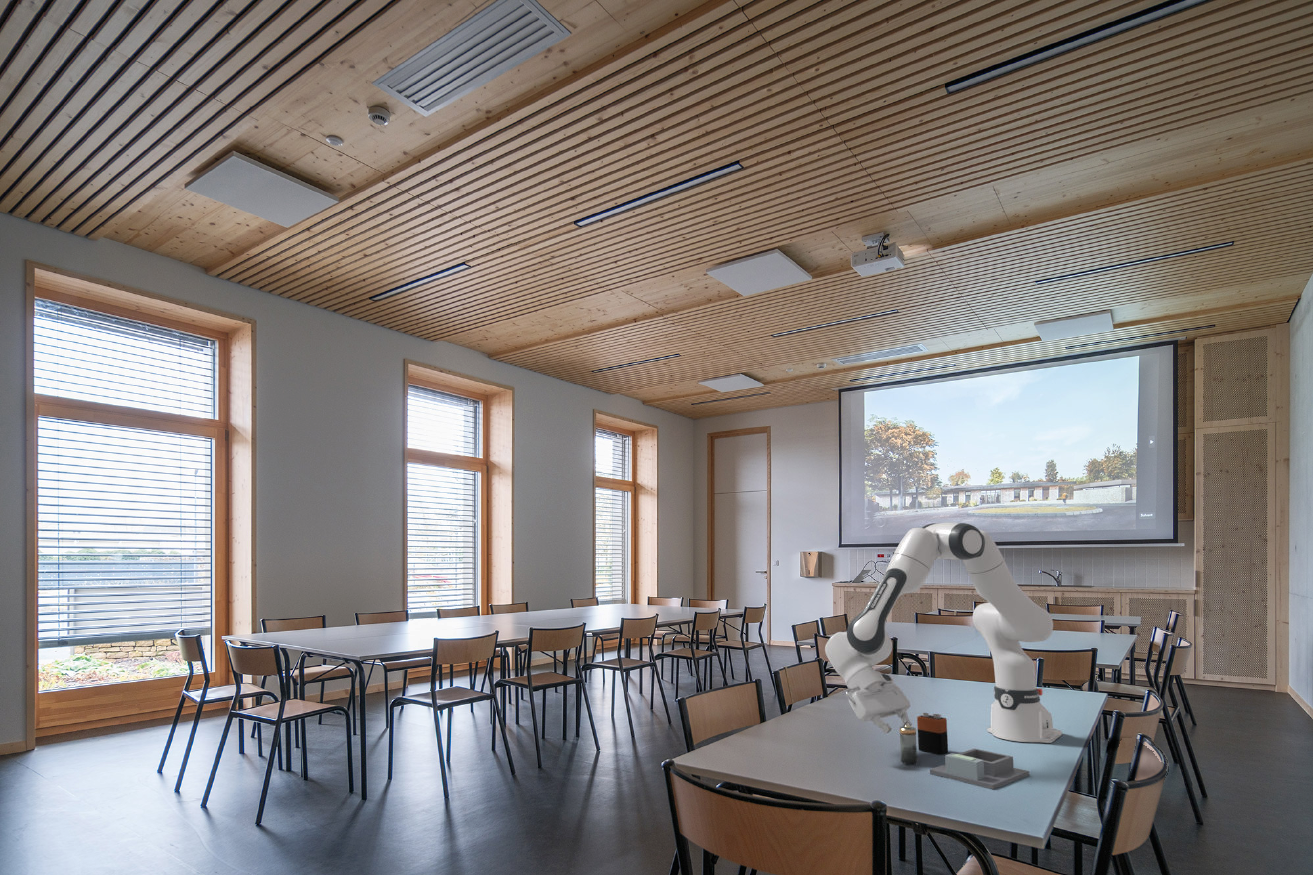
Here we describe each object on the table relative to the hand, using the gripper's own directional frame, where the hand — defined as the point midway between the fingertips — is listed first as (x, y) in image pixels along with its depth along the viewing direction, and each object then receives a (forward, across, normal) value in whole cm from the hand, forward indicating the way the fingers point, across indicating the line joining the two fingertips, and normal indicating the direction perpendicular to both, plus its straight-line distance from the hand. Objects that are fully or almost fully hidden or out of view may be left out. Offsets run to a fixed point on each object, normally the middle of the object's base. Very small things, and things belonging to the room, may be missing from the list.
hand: (898, 729), depth 200 cm
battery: (+6, +15, +5) cm, 17 cm away
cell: (+7, 0, +4) cm, 8 cm away
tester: (+19, +4, -8) cm, 21 cm away
